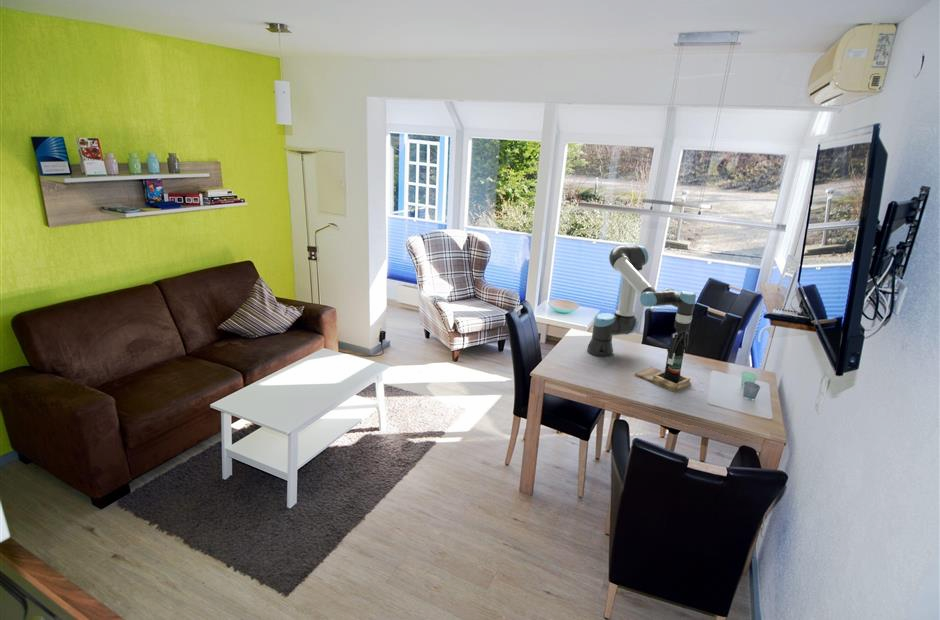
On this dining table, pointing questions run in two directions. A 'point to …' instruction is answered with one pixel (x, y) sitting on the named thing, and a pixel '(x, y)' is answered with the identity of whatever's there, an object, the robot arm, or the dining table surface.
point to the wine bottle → (675, 365)
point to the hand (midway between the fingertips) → (674, 361)
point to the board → (658, 378)
